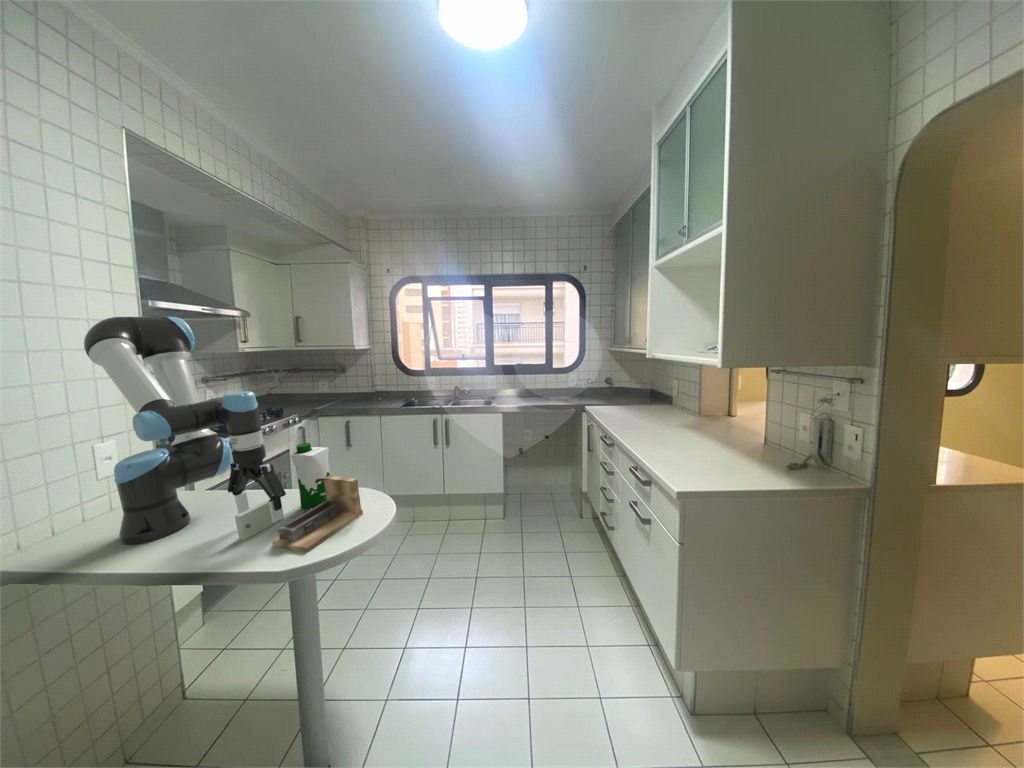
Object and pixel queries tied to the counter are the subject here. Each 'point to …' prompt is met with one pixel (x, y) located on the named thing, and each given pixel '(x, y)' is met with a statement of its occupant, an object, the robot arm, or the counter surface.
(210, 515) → the counter surface
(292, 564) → the counter surface
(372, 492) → the counter surface
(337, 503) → the wooden stand with tray
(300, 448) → the milk carton
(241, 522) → the pale green rectangular block
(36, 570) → the counter surface
